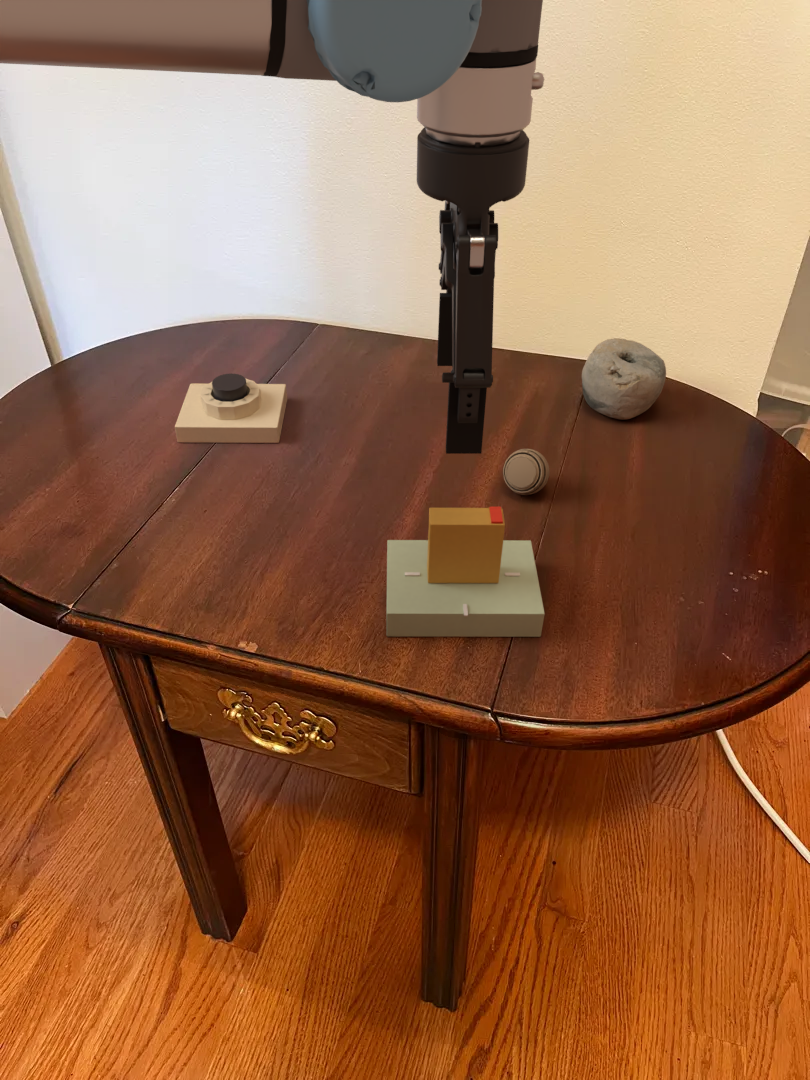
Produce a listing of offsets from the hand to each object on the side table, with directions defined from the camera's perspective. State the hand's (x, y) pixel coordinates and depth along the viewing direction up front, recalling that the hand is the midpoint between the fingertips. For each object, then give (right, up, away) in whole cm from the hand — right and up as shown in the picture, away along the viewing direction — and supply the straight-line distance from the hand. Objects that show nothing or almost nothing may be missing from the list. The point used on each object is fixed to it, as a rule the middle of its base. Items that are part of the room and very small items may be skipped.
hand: (457, 404), depth 70 cm
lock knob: (+1, -14, +8) cm, 17 cm away
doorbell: (-25, +4, +33) cm, 42 cm away
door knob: (+9, -6, +23) cm, 25 cm away
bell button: (-25, +6, +31) cm, 40 cm away
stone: (+23, +6, +37) cm, 44 cm away
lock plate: (+1, -17, +10) cm, 20 cm away
